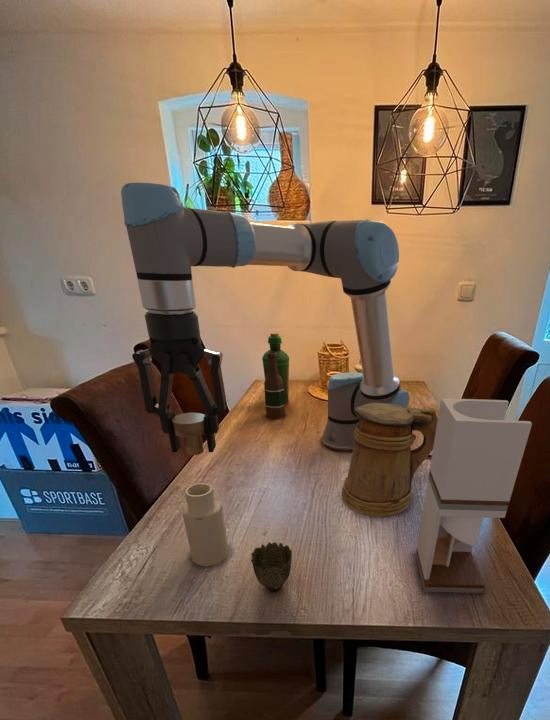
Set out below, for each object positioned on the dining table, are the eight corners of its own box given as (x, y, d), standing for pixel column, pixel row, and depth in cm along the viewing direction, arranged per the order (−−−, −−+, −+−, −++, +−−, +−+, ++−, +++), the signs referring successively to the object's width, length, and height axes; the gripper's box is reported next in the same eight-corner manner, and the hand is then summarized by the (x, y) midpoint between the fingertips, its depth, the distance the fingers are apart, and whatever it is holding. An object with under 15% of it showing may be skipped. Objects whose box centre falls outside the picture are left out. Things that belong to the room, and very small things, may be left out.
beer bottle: (281, 420, 151) (278, 355, 138) (262, 417, 152) (257, 353, 140) (288, 413, 157) (285, 351, 145) (269, 411, 158) (265, 349, 146)
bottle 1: (231, 542, 87) (221, 479, 79) (225, 565, 81) (214, 499, 72) (196, 543, 86) (184, 480, 78) (188, 566, 80) (173, 500, 72)
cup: (256, 573, 79) (253, 541, 75) (293, 572, 80) (292, 540, 76) (252, 601, 73) (248, 569, 68) (292, 600, 73) (291, 567, 69)
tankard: (337, 482, 111) (339, 396, 99) (417, 479, 114) (430, 395, 102) (346, 519, 96) (350, 423, 83) (438, 515, 99) (456, 421, 86)
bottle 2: (295, 400, 170) (292, 332, 156) (283, 408, 162) (280, 336, 147) (273, 397, 173) (268, 330, 159) (260, 404, 164) (255, 334, 150)
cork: (214, 445, 75) (209, 412, 71) (207, 458, 70) (202, 424, 67) (183, 445, 74) (177, 412, 71) (174, 458, 69) (167, 424, 66)
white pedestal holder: (424, 591, 76) (456, 420, 59) (415, 555, 85) (441, 398, 68) (482, 592, 77) (532, 423, 59) (468, 556, 86) (507, 400, 68)
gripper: (236, 309, 64) (249, 440, 76) (117, 305, 62) (148, 440, 74) (228, 315, 58) (243, 458, 69) (94, 312, 56) (133, 458, 68)
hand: (194, 448), depth 72 cm, fingers closed on cork, 6 cm apart
